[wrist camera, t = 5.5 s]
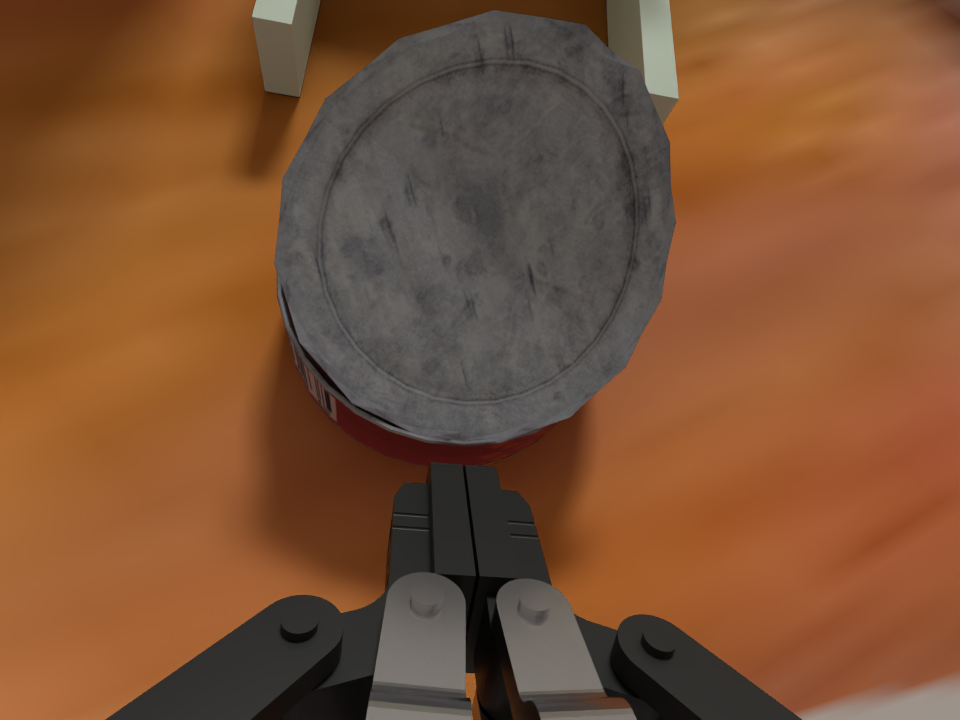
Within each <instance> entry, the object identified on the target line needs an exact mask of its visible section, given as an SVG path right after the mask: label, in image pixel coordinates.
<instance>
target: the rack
mask: <svg viewBox="0 0 960 720" xmlns="http://www.w3.org/2000/svg"><path fill="white" fill-rule="evenodd" d="M320 1H321V0H256V3H255V7H254V11H253V14H252V20H253V26H254V32H255V37H256V43H257V48H258V54H259V60H260V65H261V71H262V77H263V82H264V88H265V91H267V92H273V93H279V94H284V95H290V96H296V97H300V94H301V89H302V84H303V80H304V75H305V71H306V66H307V61H308V57H309V52H310V47H311V43H312V38H313V34H314V29H315V24H316V20H317V15H318V10H319V6H320ZM606 4H607V28H608V48H609V49H610V50H612V51H613V52H615V53H616V54H617V55H619V56H620V57H622V58H623V59H624V60H626V61H627V62H628V63H630V64H631V65H633V66H634V67H635V68H637V69H638V70H640V72H641V75H642V77H643V80H644V82H645V84H646V87H647V89H648V92H649V94H650V97H651V99H652V101H653V104H654V106H655V109H656V111H657V113H658V116H659V118H660V120H661V123H662V125H663V123H664V121H665V120H666V118H667V117H668V115H669V113H670V112H671V110H672V109H673V107H674V105H675V104H676V102H677V101H678V99H679V96H678V86H677V76H676V66H675V56H674V46H673V36H672V25H671V15H670V5H669V0H606Z"/></svg>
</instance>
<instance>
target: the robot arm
mask: <svg viewBox="0 0 960 720" xmlns="http://www.w3.org/2000/svg"><path fill="white" fill-rule="evenodd" d="M466 673H475V677H476V692H475V696H474V701H473V706H472V707H471V700H470V698H466V693H465V674H466ZM472 714H473V720H802V719H801V718H799V717H798V716H796V715H795V714H794V713H792V712H791V711H790V710H788V709H787V708H786V707H784V706H783V705H782V704H780V703H779V702H778V701H776V700H775V699H773V698H772V697H771V696H769V695H768V694H767V693H765V692H764V691H763V690H761V689H760V688H759V687H757V686H756V685H755V684H753V683H752V682H750V681H749V680H748V679H746V678H745V677H744V676H742V675H741V674H740V673H738V672H737V671H736V670H734V669H733V668H732V667H730V666H729V665H727V664H726V663H725V662H723V661H722V660H721V659H719V658H718V657H717V656H715V655H714V654H713V653H711V652H710V651H709V650H707V649H706V648H704V647H703V646H702V645H700V644H699V643H698V642H696V641H695V640H694V639H692V638H691V637H690V636H688V635H687V634H686V633H684V632H683V631H681V630H680V629H679V628H677V627H676V626H674V625H673V624H671V623H670V622H668V621H666V620H664V619H661V618H659V617H655V616H651V615H633V616H630V617H628V618H626V619H624V620H623V621H622V622H621V624H620V626H619V628H618V630H615V629H612V628H608V627H605V626H602V625H599V624H596V623H593V622H590V621H587V620H585V619H583V618H581V617H579V616H577V615H575V614H574V613H573V611H572V608H571V606H570V604H569V602H568V600H567V599H566V598H565V596H564V595H563V594H562V593H561V592H560V591H559V590H557V589H556V588H554V587H553V586H552V585H551V581H550V577H549V574H548V570H547V566H546V563H545V559H544V556H543V552H542V548H541V545H540V541H539V539H538V534H537V530H536V527H535V526H534V519H533V516H532V512H531V508H530V506H529V505H528V504H527V502H526V501H525V500H524V499H523V498H522V497H521V495H520V494H519V493H518V492H517V491H505V490H501V487H500V483H499V478H498V473H497V469H496V468H495V467H483V466H472V465H464V466H462V465H459V464H448V463H437V462H430V463H429V467H428V473H427V480H426V484H419V483H406V482H405V483H404V484H403V486H402V487H401V488H400V489H399V491H398V492H397V493H396V495H395V497H394V504H393V512H392V520H391V527H390V535H389V543H388V550H387V565H386V580H385V592H384V594H383V595H382V596H381V597H380V598H379V599H377V600H376V601H375V602H373V603H372V604H370V605H368V606H366V607H363V608H361V609H357V610H354V611H349V612H344V613H340V611H339V610H338V609H337V608H336V607H335V606H334V605H333V604H332V603H330V602H329V601H327V600H325V599H323V598H320V597H316V596H311V595H296V596H290V597H287V598H283V599H281V600H278V601H276V602H274V603H273V604H271V605H270V606H268V607H267V608H265V609H264V610H262V611H261V612H259V613H258V614H257V615H255V616H254V617H252V618H251V619H249V620H248V621H247V622H245V623H244V624H242V625H241V626H239V627H238V628H236V629H235V630H234V631H232V632H231V633H229V634H228V635H226V636H225V637H224V638H222V639H221V640H219V641H218V642H216V643H215V644H213V645H212V646H211V647H209V648H208V649H206V650H205V651H203V652H202V653H201V654H199V655H198V656H196V657H195V658H193V659H192V660H190V661H189V662H188V663H186V664H185V665H183V666H182V667H180V668H179V669H178V670H176V671H175V672H173V673H172V674H170V675H169V676H167V677H166V678H165V679H163V680H162V681H160V682H159V683H157V684H156V685H155V686H153V687H152V688H150V689H149V690H147V691H146V692H144V693H143V694H142V695H140V696H139V697H137V698H136V699H134V700H133V701H132V702H130V703H129V704H127V705H126V706H124V707H123V708H121V709H120V710H119V711H117V712H116V713H114V714H113V715H111V716H110V717H109V718H107V719H106V720H472Z"/></svg>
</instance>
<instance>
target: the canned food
mask: <svg viewBox="0 0 960 720" xmlns="http://www.w3.org/2000/svg"><path fill="white" fill-rule="evenodd" d="M675 224H676V221H675V213H674V205H673V198H672V190H671V175H670V142H669V139H668V137H667V135H666V132H665V130H664V127H663V125H662V123H661V120H660V118H659V116H658V113H657V111H656V109H655V106H654V104H653V101H652V99H651V97H650V94H649V92H648V89H647V87H646V84H645V82H644V80H643V77H642V75H641V72H640V70H638V69H637V68H635V67H634V66H633V65H631V64H630V63H628V62H627V61H626V60H624V59H623V58H622V57H620V56H619V55H617V54H616V53H615V52H613V51H612V50H610V49H609V48H608V47H607V46H606V45H605V44H604V43H603V42H602V41H601V40H600V39H599V38H598V37H597V36H596V35H595V34H594V33H593V32H592V31H591V30H590V29H589V28H588V27H587V26H586V25H584V24H578V23H573V22H567V21H562V20H556V19H551V18H545V17H539V16H532V15H525V14H518V13H512V12H505V11H498V10H492V11H489V12H486V13H483V14H479V15H476V16H473V17H470V18H466V19H463V20H460V21H457V22H453V23H450V24H447V25H443V26H440V27H437V28H433V29H430V30H426V31H423V32H419V33H416V34H413V35H409V36H406V37H402V38H399V39H398V40H397V41H395V42H394V43H393V44H392V45H391V46H390V47H388V48H387V49H386V50H385V51H384V52H382V53H381V54H380V55H379V56H378V57H376V58H375V59H374V60H373V61H372V62H371V63H369V64H368V65H367V66H366V67H365V68H363V69H362V70H361V71H360V72H359V73H357V74H356V75H355V76H354V77H352V78H351V79H350V80H348V81H347V82H346V83H345V84H343V85H342V86H341V87H340V88H338V89H337V90H336V91H335V92H333V93H332V94H331V95H330V96H328V97H327V98H326V99H325V101H324V103H323V105H322V106H321V108H320V110H319V112H318V114H317V116H316V118H315V120H314V122H313V124H312V126H311V128H310V130H309V132H308V134H307V136H306V137H305V139H304V141H303V143H302V145H301V147H300V148H299V150H298V152H297V154H296V155H295V157H294V159H293V161H292V162H291V164H290V166H289V168H288V170H287V171H286V173H285V175H284V177H283V181H282V193H281V206H280V218H279V227H278V236H277V245H276V253H275V262H274V264H275V267H276V270H277V298H278V302H279V306H280V310H281V314H282V317H283V321H284V325H285V329H286V331H287V333H288V336H289V342H290V346H291V350H292V354H293V357H294V361H295V365H296V368H297V370H298V372H299V374H300V376H301V378H302V380H303V382H304V384H305V386H306V388H307V390H308V392H309V394H310V395H311V397H312V398H313V399H314V400H315V401H316V403H317V404H318V405H319V406H320V408H321V409H322V410H323V411H324V413H325V414H326V415H327V416H328V417H329V419H330V420H331V421H333V422H334V423H335V424H336V425H338V426H339V427H340V428H341V429H342V430H344V431H345V432H346V433H347V434H349V435H350V436H351V437H352V438H354V439H355V440H356V441H358V442H360V443H362V444H364V445H366V446H368V447H370V448H371V449H373V450H375V451H377V452H379V453H381V454H383V455H385V456H388V457H392V458H395V459H398V460H402V461H405V462H408V463H412V464H415V465H422V466H429V463H430V462H437V463H448V464H459V465H462V466H464V465H472V466H474V465H482V464H485V463H488V462H492V461H495V460H498V459H501V458H504V457H508V456H511V455H513V454H514V453H516V452H518V451H520V450H521V449H523V448H525V447H527V446H529V445H530V444H532V443H534V442H536V441H537V440H538V439H539V438H541V437H542V436H543V435H544V434H545V433H546V432H547V431H549V430H550V429H551V428H552V427H553V426H554V425H555V424H557V423H558V422H559V421H561V420H564V419H567V418H570V417H571V416H572V415H573V414H574V413H575V412H576V411H578V410H579V409H580V408H581V407H582V406H583V405H584V404H585V403H586V402H587V401H588V400H589V399H590V398H591V397H592V396H593V395H594V394H595V393H596V392H597V391H599V390H600V389H601V388H602V387H603V386H604V385H606V384H607V383H608V382H609V381H610V380H611V379H613V378H614V377H615V376H616V375H617V374H618V373H620V372H621V371H622V370H623V369H624V368H625V367H626V365H627V363H628V361H629V359H630V357H631V355H632V353H633V351H634V349H635V347H636V345H637V343H638V340H639V338H640V336H641V334H642V332H643V331H644V329H645V327H646V325H647V324H648V322H649V320H650V318H651V317H652V315H653V313H654V312H655V310H656V308H657V306H658V305H659V303H660V301H661V298H662V291H663V284H664V277H665V270H666V263H667V258H668V254H669V249H670V245H671V241H672V236H673V232H674V228H675Z"/></svg>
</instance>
